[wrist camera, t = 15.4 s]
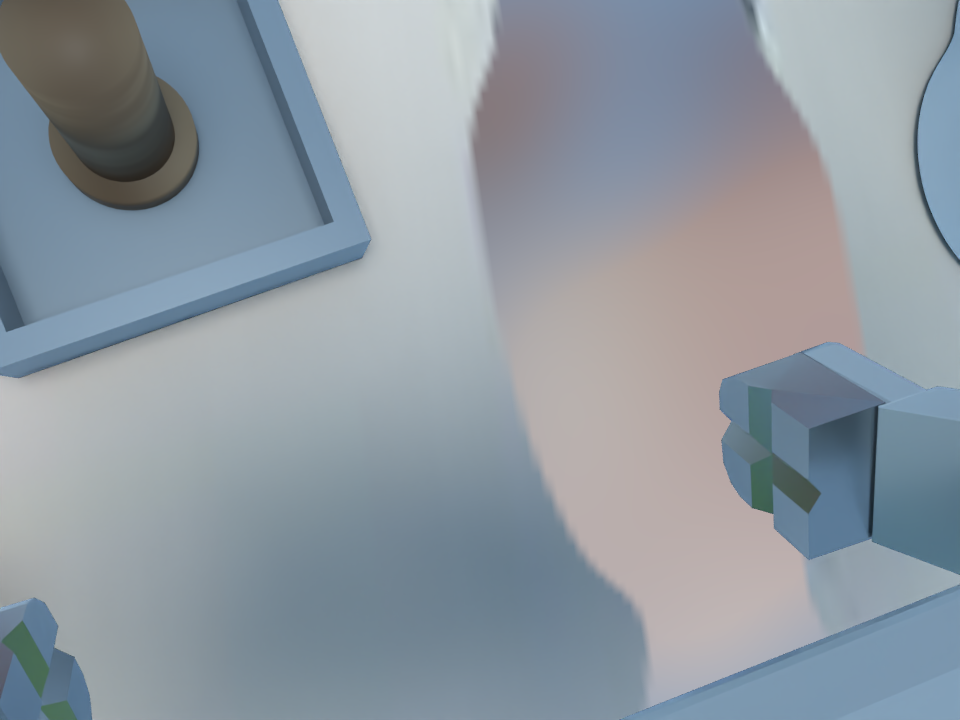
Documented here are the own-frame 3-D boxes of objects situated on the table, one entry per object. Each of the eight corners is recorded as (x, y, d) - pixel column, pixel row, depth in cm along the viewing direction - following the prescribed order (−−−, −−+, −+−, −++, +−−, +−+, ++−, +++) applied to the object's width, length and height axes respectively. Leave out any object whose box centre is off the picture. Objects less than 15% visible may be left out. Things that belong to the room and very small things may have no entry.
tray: (239, -56, 33) (234, -111, 29) (361, 257, 33) (371, 239, 30) (-120, 33, 30) (-172, -17, 26) (18, 378, 30) (-16, 373, 27)
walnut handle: (171, 65, 31) (128, -75, 22) (218, 187, 31) (193, 95, 22) (37, 101, 30) (-64, -32, 21) (86, 227, 30) (5, 147, 21)
